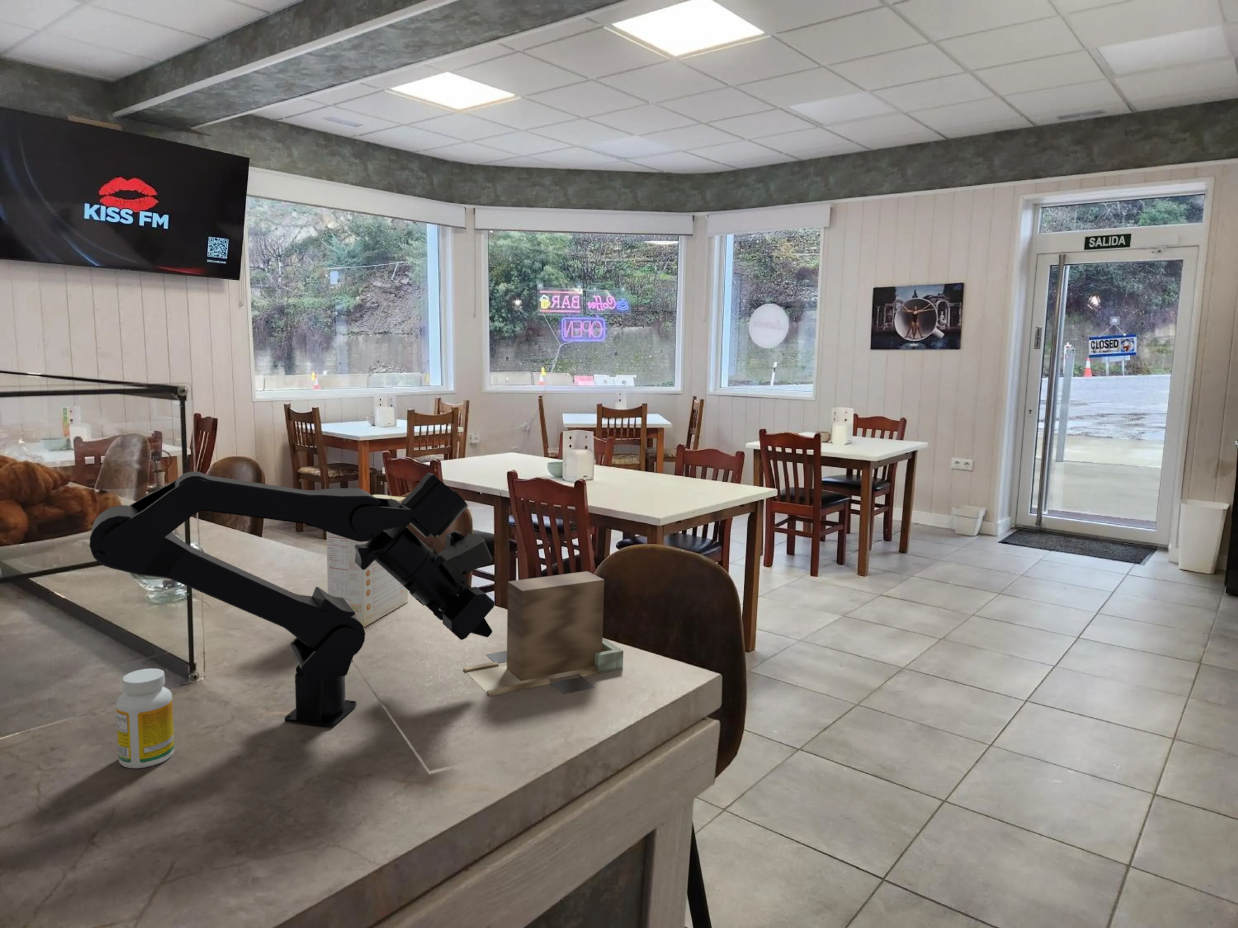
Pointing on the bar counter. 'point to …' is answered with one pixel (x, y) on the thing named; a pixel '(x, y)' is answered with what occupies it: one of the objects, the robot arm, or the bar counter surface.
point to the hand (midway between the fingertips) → (489, 633)
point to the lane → (505, 681)
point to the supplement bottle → (144, 719)
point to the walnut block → (554, 624)
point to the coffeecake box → (362, 580)
